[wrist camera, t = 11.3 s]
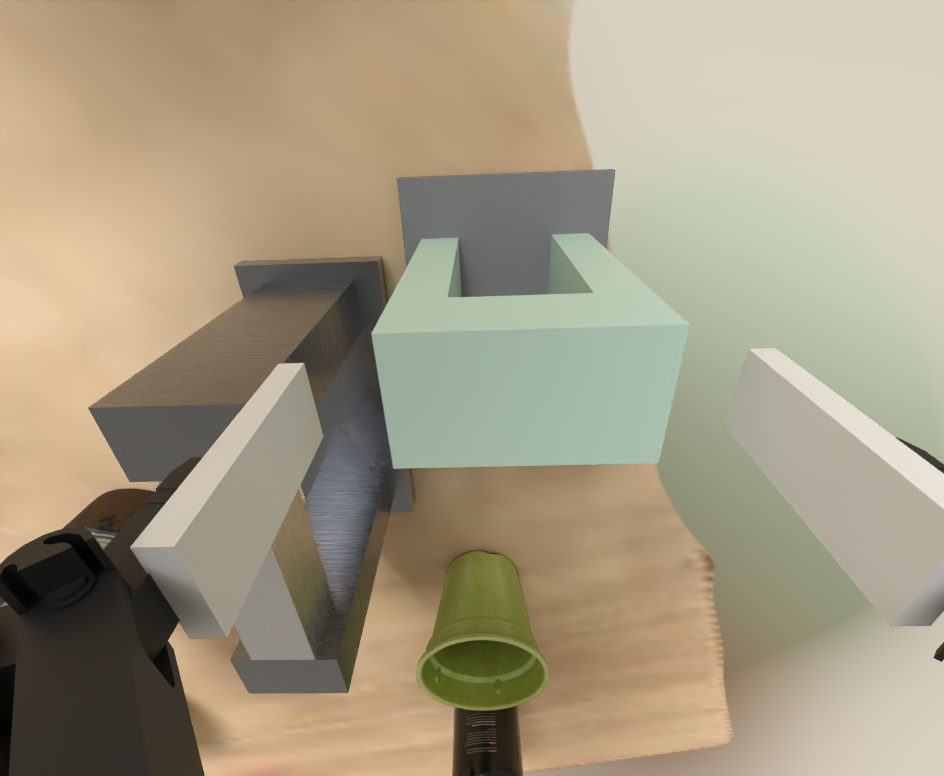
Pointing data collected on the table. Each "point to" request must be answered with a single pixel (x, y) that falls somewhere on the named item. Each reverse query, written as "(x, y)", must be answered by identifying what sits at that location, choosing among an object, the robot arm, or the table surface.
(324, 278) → the stand
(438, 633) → the plant pot
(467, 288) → the gray rectangular panel
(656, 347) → the mint green u-shaped block
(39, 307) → the table surface
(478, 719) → the supplement bottle
